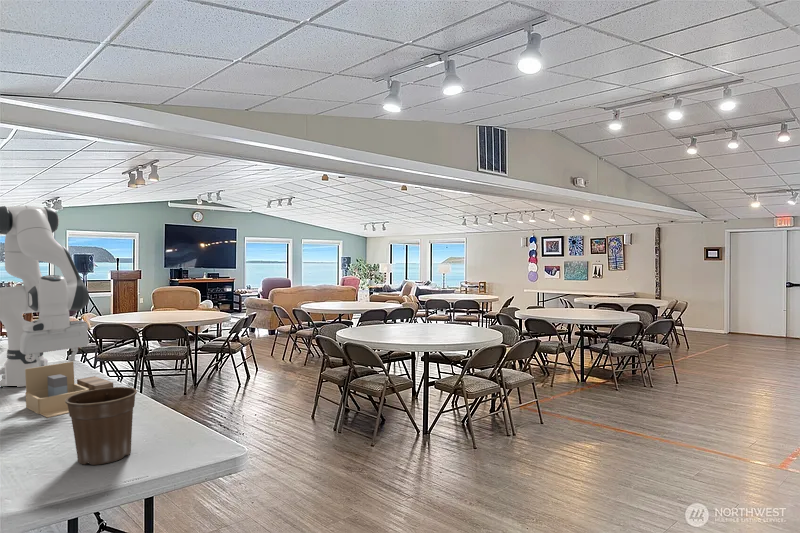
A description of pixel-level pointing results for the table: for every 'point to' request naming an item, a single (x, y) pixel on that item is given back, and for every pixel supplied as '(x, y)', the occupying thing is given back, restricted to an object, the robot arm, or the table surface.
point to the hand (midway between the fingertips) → (56, 363)
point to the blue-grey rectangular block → (57, 385)
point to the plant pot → (102, 423)
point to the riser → (94, 383)
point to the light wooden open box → (39, 389)
